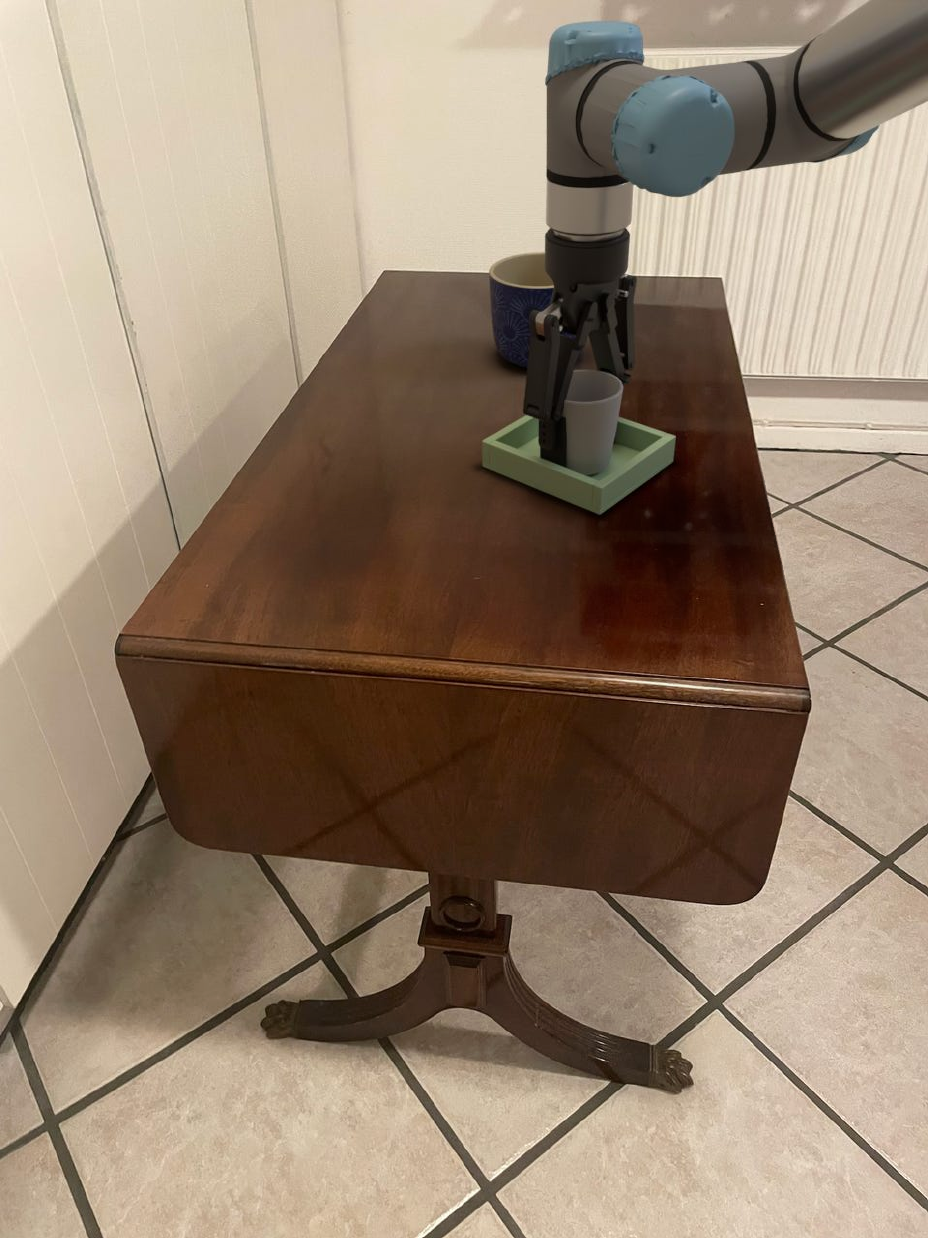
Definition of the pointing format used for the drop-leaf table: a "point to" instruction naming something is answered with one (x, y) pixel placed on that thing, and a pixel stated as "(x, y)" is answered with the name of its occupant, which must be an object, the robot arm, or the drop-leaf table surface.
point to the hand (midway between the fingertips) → (578, 456)
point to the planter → (518, 302)
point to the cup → (591, 420)
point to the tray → (628, 468)
